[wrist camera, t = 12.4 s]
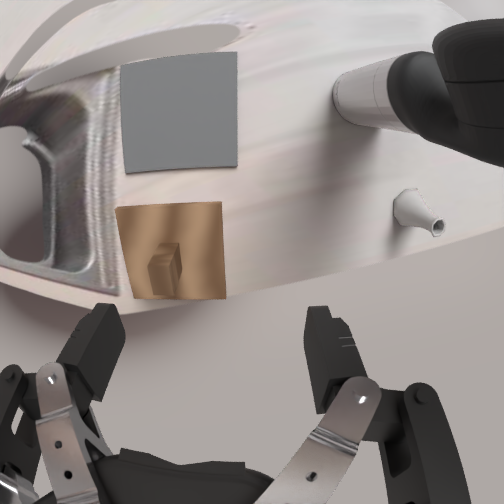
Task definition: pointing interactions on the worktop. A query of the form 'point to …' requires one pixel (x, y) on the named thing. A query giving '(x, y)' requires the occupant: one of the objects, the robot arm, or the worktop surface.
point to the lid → (174, 250)
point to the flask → (417, 212)
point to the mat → (179, 112)
